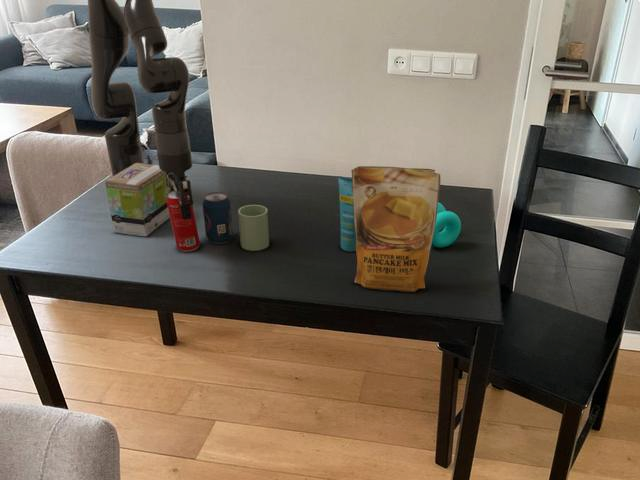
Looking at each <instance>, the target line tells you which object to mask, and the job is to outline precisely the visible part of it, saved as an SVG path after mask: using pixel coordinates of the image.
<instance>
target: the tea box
mask: <svg viewBox="0 0 640 480" xmlns="http://www.w3.org/2000/svg"><path fill="white" fill-rule="evenodd" d="M104 182H105V190H106V195H107V200H108V207H109V211H110V219H111V223H112V229H113V230H112V231H113V232H114V233H117V234H122V235H123V234H124V235H131V236H137V237H148V236H149V235H150V234H151V233H152V232H154V231H155V230H156V229H158V228H159V227H160V226H161V225H162V224H164V223H165V222H167V220H169V219H170V214H169V210H168V205H167V201H166V200H167V194H168V193H169V192H170V191H169V187H168V186H167V182H166V174H165V172H164V171H162V170H161V169H160V168H159V164H151V163H150V164H147V163H144V164H142V163H135V164H133V165H131V166H130V167H128V168H126V169H125V170H123V171H121V172H119V173H118V174H116V175H114V176H113V175H112V176H111V177H109V178H107V179H106V180H105V181H104Z"/></svg>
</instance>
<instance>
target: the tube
mask: <svg viewBox="0 0 640 480" xmlns="http://www.w3.org/2000/svg"><path fill="white" fill-rule="evenodd" d="M337 180H338V193H339V213H340V214H339V216H340V248H341V249H342V251H344V252H345V251H346V252H356V231H355V224H354V208H353V192H352V177H345V176H341V175H337Z"/></svg>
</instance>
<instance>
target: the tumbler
mask: <svg viewBox="0 0 640 480" xmlns="http://www.w3.org/2000/svg"><path fill="white" fill-rule="evenodd" d="M268 210H269V209H268V208H267V207H266V206H264V205H261V204H247V205H244V206H241V207H239V209H238V210H237V217H238V220H237V221H238V229H239V243H240V247H241V248H242V249H243V250H245V251H252V252H255V251H261V250H265V249H267V248H268V247H269V246H270V230H269V229H270V228H269V213H268V212H269V211H268Z"/></svg>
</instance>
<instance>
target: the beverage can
mask: <svg viewBox="0 0 640 480" xmlns="http://www.w3.org/2000/svg"><path fill="white" fill-rule="evenodd" d="M179 192H180V191H179ZM184 200H187V197H186V196H184ZM166 201H167V205H168V210H169V214H170V218H169V219H170V224H171V227H172V232H173V236H174V241H175V245H176V246H175V247H176V249H177V250H179V251H180V252H184V253H186V252H187V253H188V252H193V251H196V250H197V249H198V248H199V247H200V245H201V241H200V237H199V231H198V227H197V222H196V216H195V210H194V206H193V205H190V207H191V215H192V218H191V219H186V220H183V219H182V215H181V208H180V204H179V199H178V197H176V196H175V193H174V191H171V192H169V193H168V194H167V200H166Z"/></svg>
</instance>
